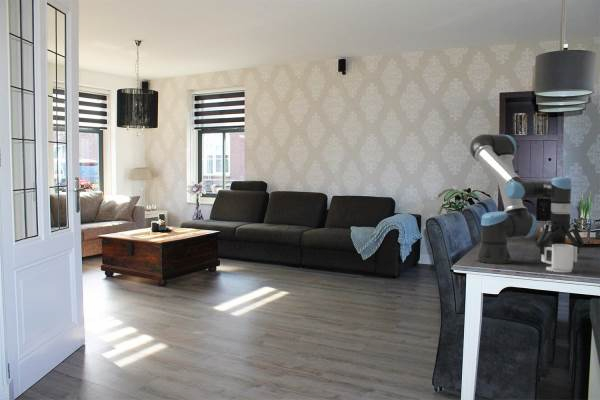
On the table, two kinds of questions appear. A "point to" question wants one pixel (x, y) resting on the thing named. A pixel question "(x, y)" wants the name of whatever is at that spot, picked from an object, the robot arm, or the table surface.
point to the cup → (561, 256)
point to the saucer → (557, 270)
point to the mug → (553, 242)
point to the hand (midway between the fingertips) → (559, 261)
